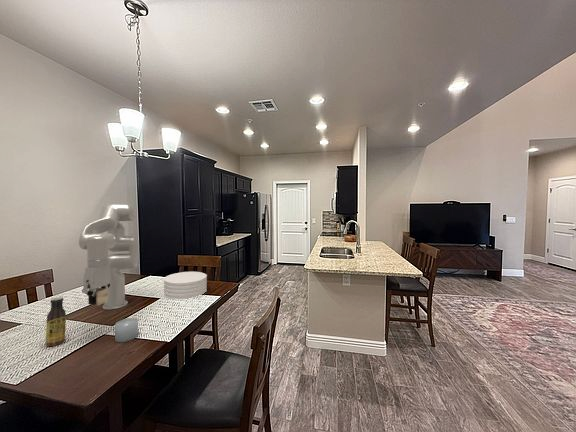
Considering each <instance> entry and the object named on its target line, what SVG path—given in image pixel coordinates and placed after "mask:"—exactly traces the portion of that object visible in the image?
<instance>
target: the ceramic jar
mask: <svg viewBox="0 0 576 432" xmlns="http://www.w3.org/2000/svg"><path fill="white" fill-rule="evenodd" d="M138 335H139V319H138V318H136V317H129V318H122V319H121V320H119V321H117V322H115V324H114V341H115V342H116V343H117V342H118V343H124V342H129V341H132V340H134V339H135V338H137V337H138Z"/></svg>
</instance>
